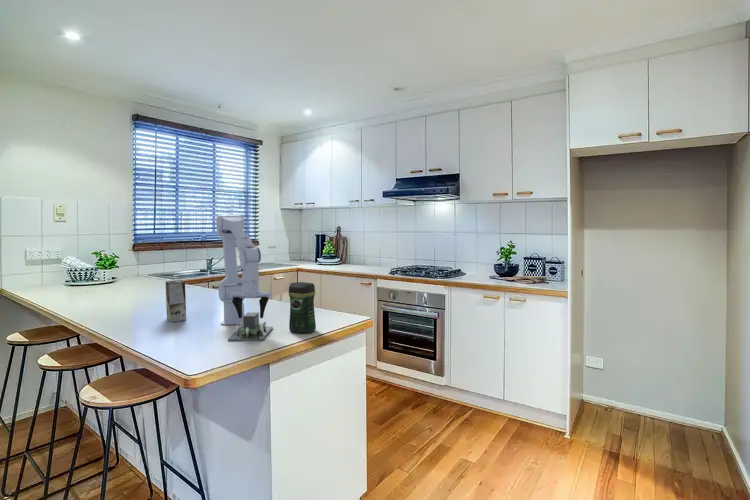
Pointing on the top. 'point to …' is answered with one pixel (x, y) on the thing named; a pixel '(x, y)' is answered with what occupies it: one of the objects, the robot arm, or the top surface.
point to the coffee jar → (302, 307)
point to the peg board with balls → (250, 336)
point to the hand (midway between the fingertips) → (251, 317)
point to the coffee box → (175, 300)
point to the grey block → (251, 322)
